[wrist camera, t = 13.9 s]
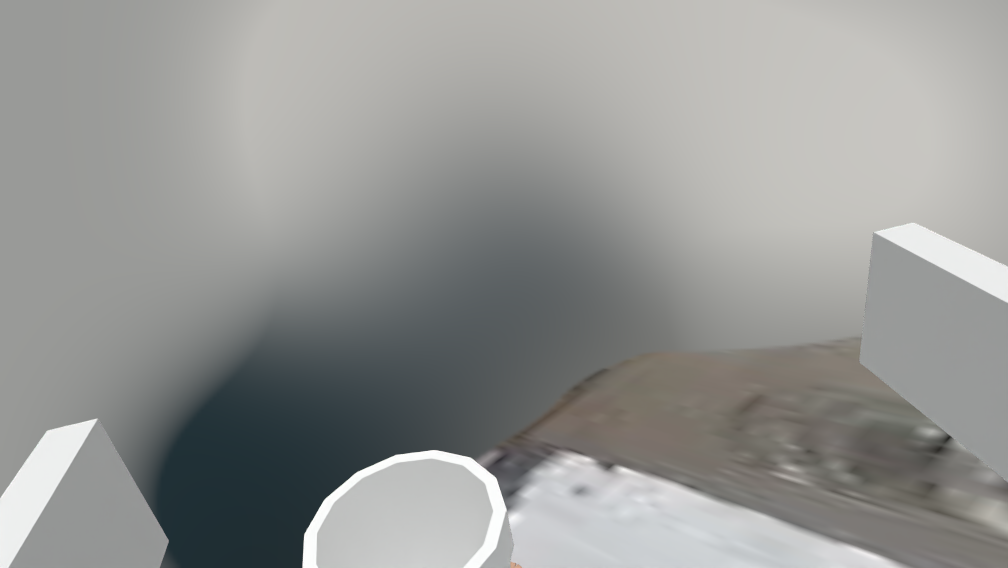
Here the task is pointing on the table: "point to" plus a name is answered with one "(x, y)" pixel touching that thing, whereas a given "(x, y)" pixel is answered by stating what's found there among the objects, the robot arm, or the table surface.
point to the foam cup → (413, 517)
